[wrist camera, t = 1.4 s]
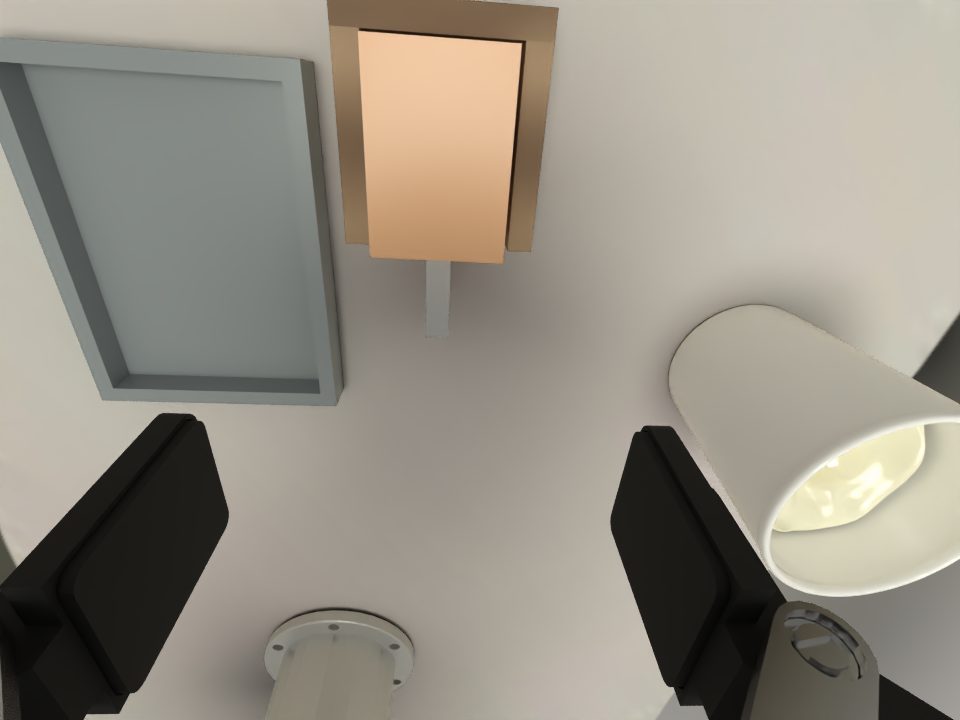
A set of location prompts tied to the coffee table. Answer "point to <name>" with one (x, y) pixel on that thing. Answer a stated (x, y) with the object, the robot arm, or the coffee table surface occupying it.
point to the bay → (449, 14)
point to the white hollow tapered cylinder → (822, 451)
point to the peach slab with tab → (437, 152)
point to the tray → (179, 217)
